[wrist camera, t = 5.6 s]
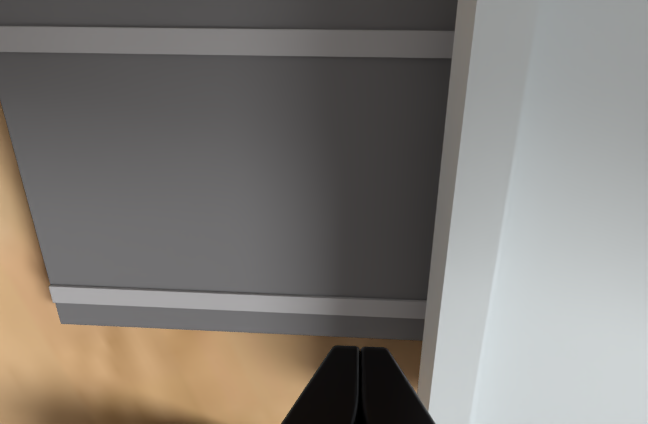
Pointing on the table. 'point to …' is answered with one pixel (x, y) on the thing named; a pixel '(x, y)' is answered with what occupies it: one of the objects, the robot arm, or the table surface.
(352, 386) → the robot arm
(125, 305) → the track mat
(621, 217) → the white rimmed tray
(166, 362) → the table surface
